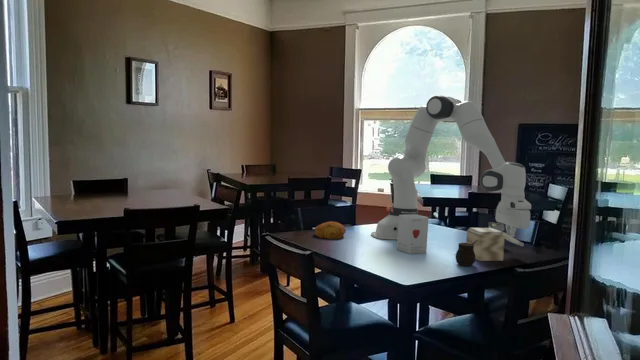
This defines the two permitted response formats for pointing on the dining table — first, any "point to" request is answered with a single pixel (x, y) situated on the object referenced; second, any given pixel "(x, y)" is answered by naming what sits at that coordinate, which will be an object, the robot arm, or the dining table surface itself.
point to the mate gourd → (465, 254)
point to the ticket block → (487, 243)
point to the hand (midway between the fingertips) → (510, 236)
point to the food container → (496, 226)
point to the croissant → (330, 230)
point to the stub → (512, 239)
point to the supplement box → (412, 233)
